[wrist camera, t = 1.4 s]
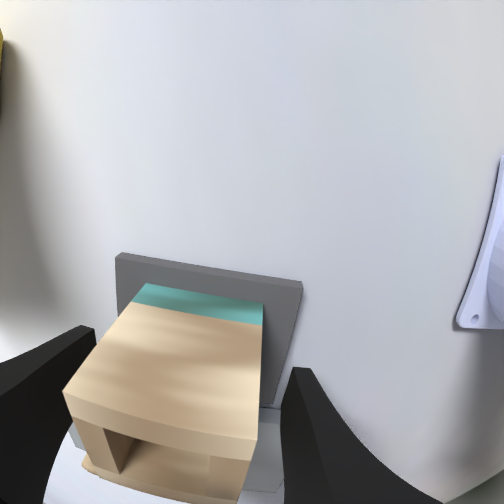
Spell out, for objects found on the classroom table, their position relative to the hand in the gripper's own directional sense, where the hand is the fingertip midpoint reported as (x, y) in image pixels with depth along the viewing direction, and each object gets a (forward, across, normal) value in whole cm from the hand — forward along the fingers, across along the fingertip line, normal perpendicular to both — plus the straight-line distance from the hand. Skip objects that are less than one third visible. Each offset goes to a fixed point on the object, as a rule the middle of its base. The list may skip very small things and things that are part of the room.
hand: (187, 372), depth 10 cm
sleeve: (+2, 0, 0) cm, 2 cm away
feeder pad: (+2, 0, 0) cm, 3 cm away
